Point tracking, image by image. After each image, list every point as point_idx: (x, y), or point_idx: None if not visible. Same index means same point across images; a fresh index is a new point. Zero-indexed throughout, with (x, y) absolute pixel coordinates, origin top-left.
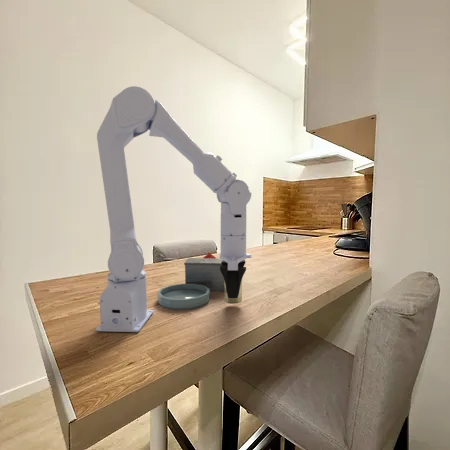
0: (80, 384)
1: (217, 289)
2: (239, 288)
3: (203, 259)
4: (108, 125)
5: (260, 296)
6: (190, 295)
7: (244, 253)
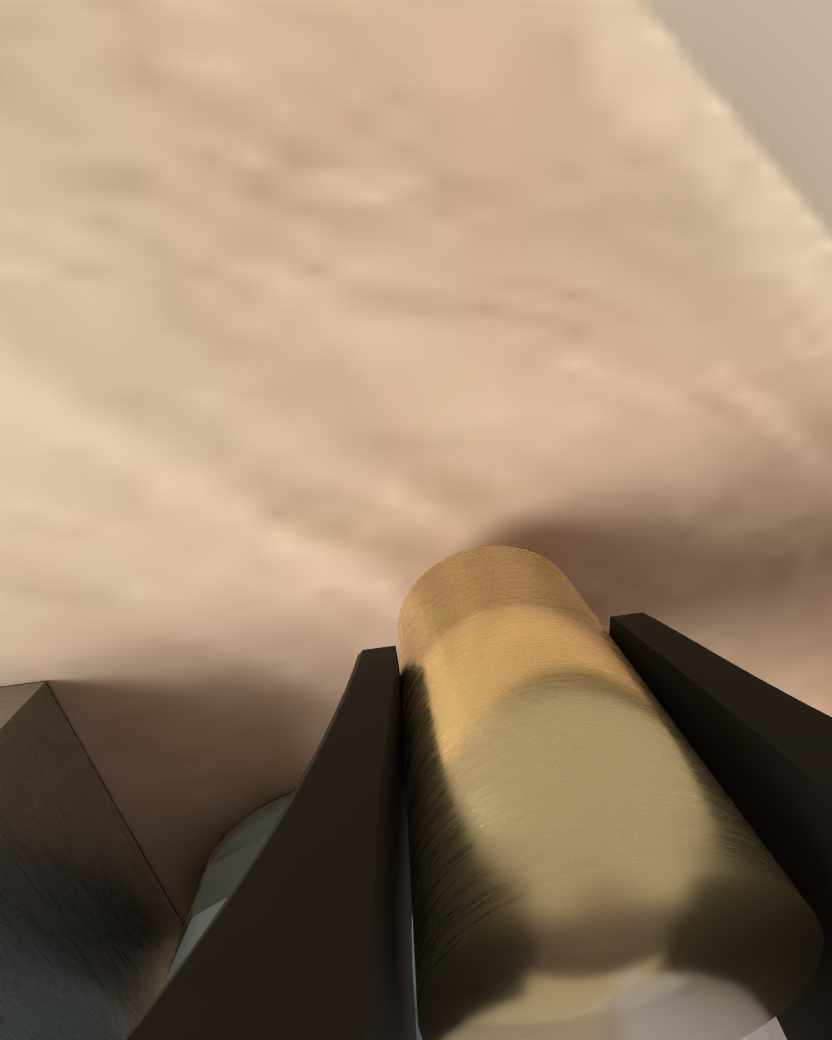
0: None
1: (87, 787)
2: (760, 682)
3: None
4: None
5: (67, 330)
6: None
7: None
